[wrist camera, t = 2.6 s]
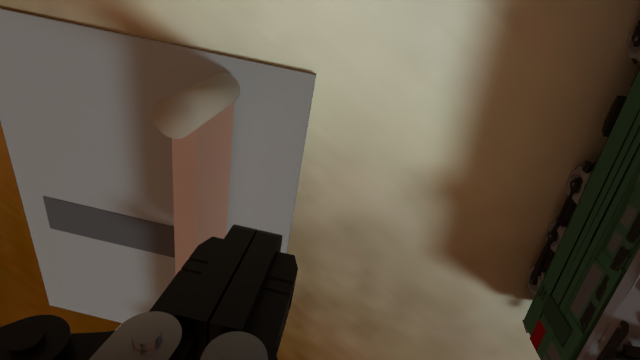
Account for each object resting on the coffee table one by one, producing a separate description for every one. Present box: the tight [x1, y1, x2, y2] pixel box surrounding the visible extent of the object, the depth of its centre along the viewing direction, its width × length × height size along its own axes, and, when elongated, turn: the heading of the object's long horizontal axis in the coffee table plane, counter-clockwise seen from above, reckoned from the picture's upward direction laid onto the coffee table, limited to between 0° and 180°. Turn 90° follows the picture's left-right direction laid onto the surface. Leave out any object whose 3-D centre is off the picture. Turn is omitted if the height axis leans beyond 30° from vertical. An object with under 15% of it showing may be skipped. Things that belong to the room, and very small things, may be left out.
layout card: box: [0, 8, 316, 323], centre depth 26 cm, size 26×21×1 cm
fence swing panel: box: [152, 73, 240, 276], centre depth 20 cm, size 12×2×6 cm, turn 170°
